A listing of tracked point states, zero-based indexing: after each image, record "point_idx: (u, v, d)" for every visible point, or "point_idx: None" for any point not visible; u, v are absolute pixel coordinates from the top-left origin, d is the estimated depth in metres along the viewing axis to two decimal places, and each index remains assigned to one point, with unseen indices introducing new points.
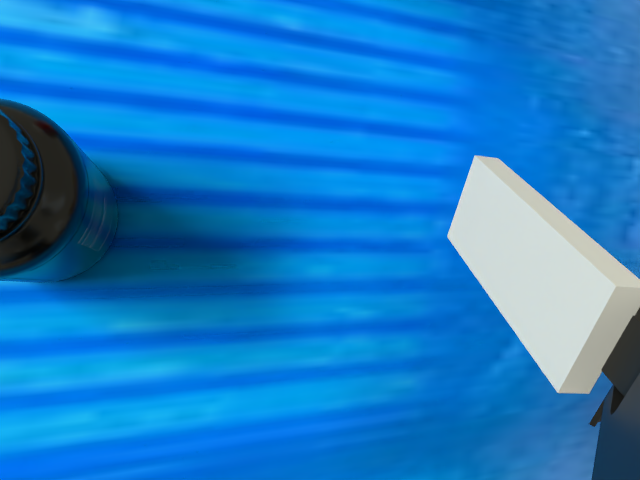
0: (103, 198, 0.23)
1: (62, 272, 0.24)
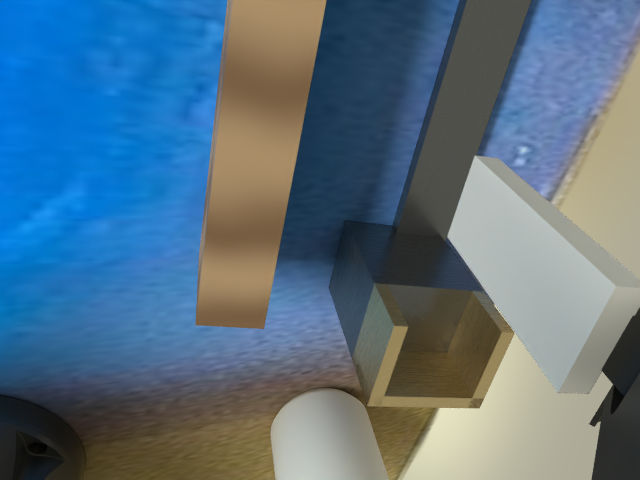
0: None
1: None
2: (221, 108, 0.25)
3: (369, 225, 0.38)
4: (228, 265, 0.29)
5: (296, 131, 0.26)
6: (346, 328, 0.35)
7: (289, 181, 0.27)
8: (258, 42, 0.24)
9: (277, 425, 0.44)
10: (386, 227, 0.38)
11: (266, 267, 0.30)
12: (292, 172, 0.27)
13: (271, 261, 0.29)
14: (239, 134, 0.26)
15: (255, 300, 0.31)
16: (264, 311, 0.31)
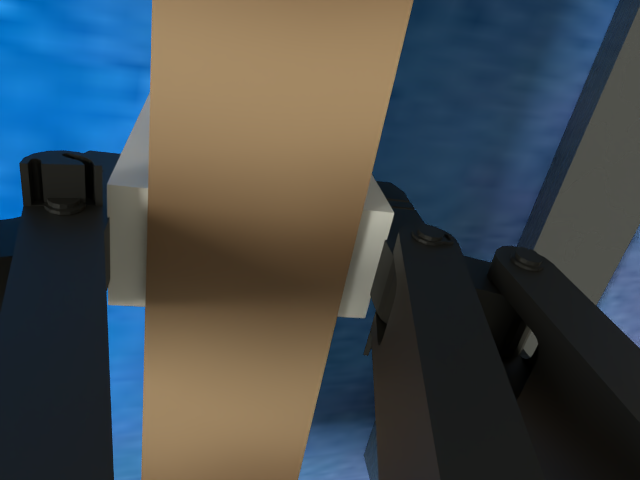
0: None
1: None
2: (147, 307, 0.11)
3: None
4: None
5: (321, 338, 0.12)
6: None
7: (306, 421, 0.13)
8: (224, 168, 0.09)
9: None
10: None
11: None
12: (312, 406, 0.13)
13: None
14: (193, 353, 0.11)
15: None
16: None
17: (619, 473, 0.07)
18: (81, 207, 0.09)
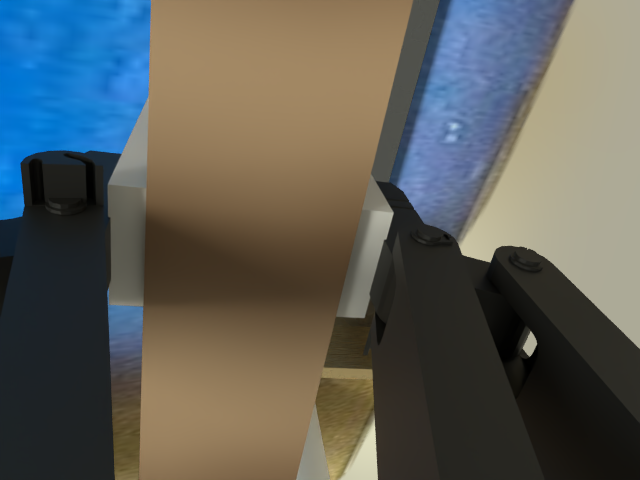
0: None
1: None
2: (145, 306, 0.11)
3: None
4: None
5: (319, 338, 0.12)
6: None
7: (304, 421, 0.13)
8: (223, 167, 0.09)
9: None
10: None
11: None
12: (311, 407, 0.13)
13: None
14: (191, 353, 0.11)
15: None
16: None
17: (618, 473, 0.07)
18: (82, 207, 0.09)
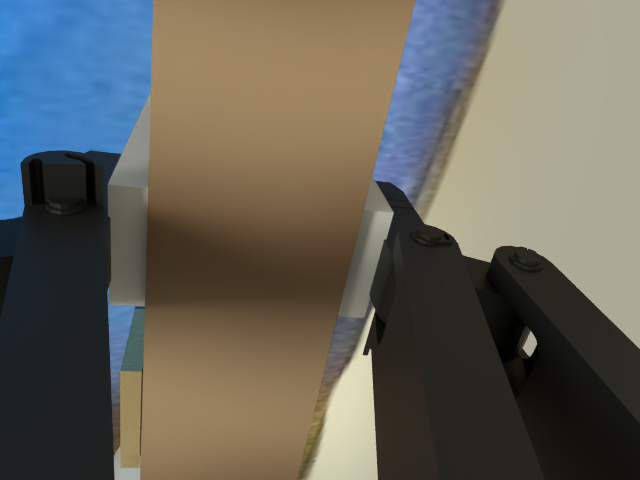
0: None
1: None
2: (147, 306, 0.11)
3: None
4: None
5: (321, 338, 0.12)
6: None
7: (306, 421, 0.13)
8: (225, 167, 0.09)
9: (114, 463, 0.38)
10: None
11: None
12: (312, 407, 0.13)
13: None
14: (192, 353, 0.11)
15: None
16: None
17: (619, 473, 0.07)
18: (82, 207, 0.09)
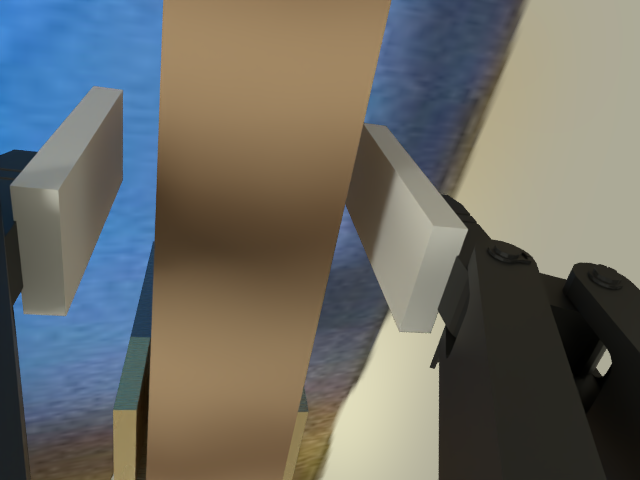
0: None
1: None
2: (155, 270, 0.12)
3: None
4: None
5: (312, 301, 0.13)
6: None
7: (299, 381, 0.14)
8: (226, 142, 0.11)
9: None
10: None
11: None
12: (305, 367, 0.14)
13: None
14: (196, 314, 0.13)
15: None
16: None
17: None
18: None
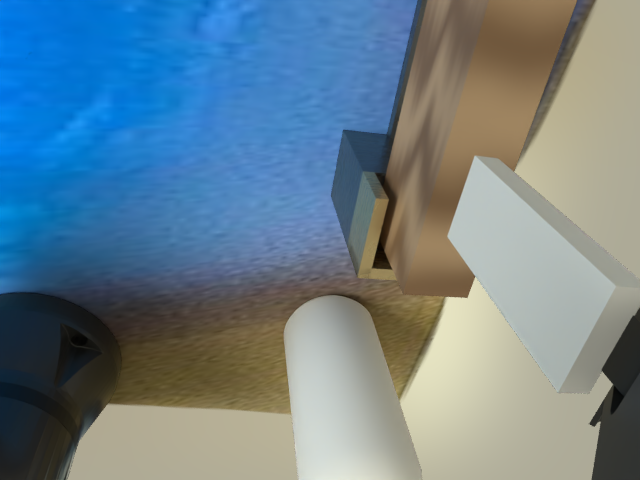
0: None
1: None
2: (468, 68, 0.24)
3: (364, 133, 0.42)
4: (445, 233, 0.29)
5: (538, 91, 0.25)
6: (343, 222, 0.39)
7: (521, 144, 0.26)
8: None
9: (289, 327, 0.49)
10: (380, 135, 0.42)
11: None
12: (526, 134, 0.26)
13: None
14: (481, 96, 0.25)
15: (464, 269, 0.30)
16: (471, 280, 0.31)
17: None
18: None
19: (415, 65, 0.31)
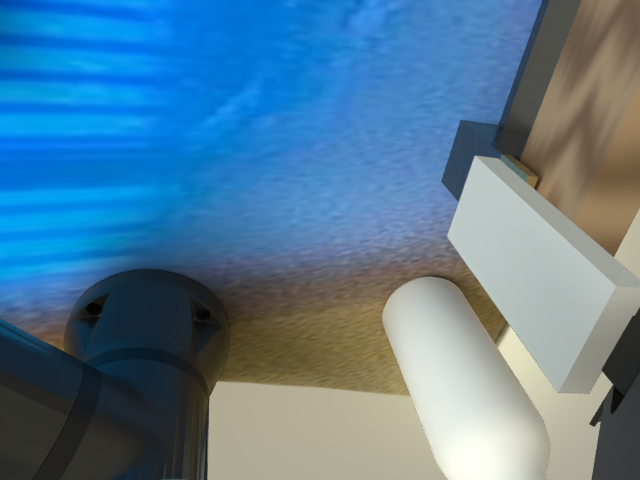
0: None
1: None
2: None
3: (480, 124, 0.46)
4: (603, 204, 0.33)
5: None
6: None
7: None
8: None
9: (391, 305, 0.53)
10: (494, 126, 0.46)
11: (633, 205, 0.33)
12: None
13: (639, 201, 0.33)
14: None
15: (612, 237, 0.34)
16: (616, 248, 0.35)
17: None
18: None
19: (565, 58, 0.35)
